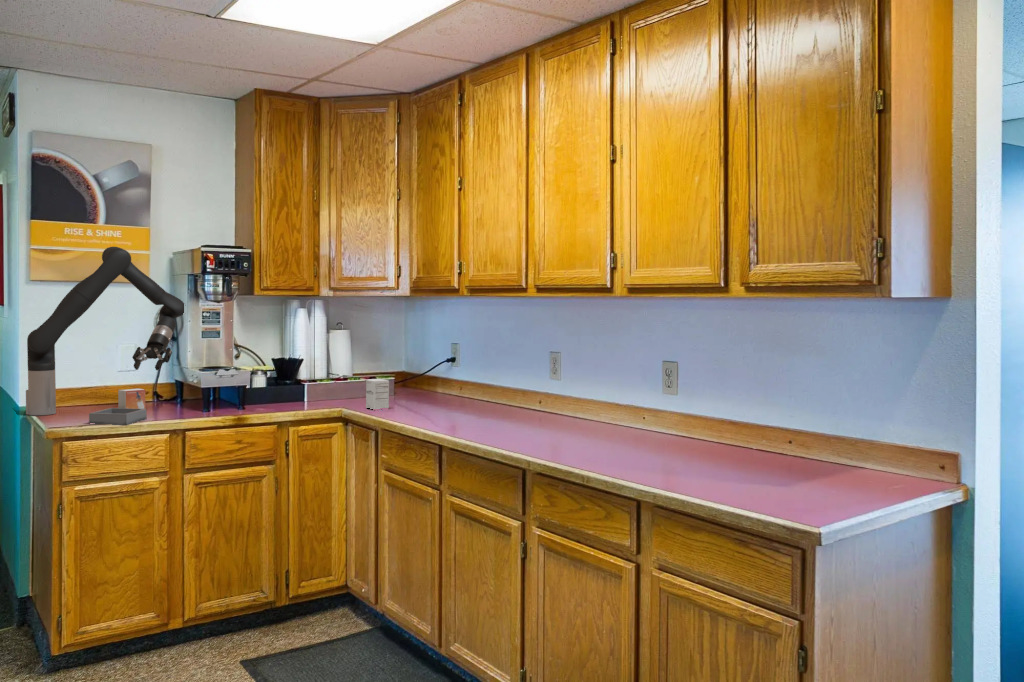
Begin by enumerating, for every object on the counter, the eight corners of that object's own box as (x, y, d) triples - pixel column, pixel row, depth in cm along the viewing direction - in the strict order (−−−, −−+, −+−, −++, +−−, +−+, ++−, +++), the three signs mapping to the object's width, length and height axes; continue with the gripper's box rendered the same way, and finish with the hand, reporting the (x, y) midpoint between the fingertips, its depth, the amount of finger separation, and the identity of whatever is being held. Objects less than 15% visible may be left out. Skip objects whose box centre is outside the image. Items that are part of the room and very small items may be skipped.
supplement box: (365, 408, 341) (365, 379, 340) (381, 407, 346) (381, 378, 345) (373, 411, 335) (373, 380, 335) (389, 409, 340) (389, 380, 339)
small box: (125, 418, 306) (125, 390, 306) (118, 416, 310) (117, 389, 309) (145, 416, 312) (145, 389, 312) (138, 414, 316) (138, 388, 315)
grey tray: (89, 424, 291) (89, 413, 291) (110, 418, 305) (110, 407, 305) (126, 425, 291) (126, 414, 290) (146, 419, 304) (146, 408, 304)
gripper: (140, 332, 329) (125, 362, 319) (173, 332, 329) (160, 363, 318) (146, 344, 335) (132, 374, 324) (180, 344, 334) (166, 375, 323)
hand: (146, 368), depth 321 cm, fingers open, 8 cm apart
